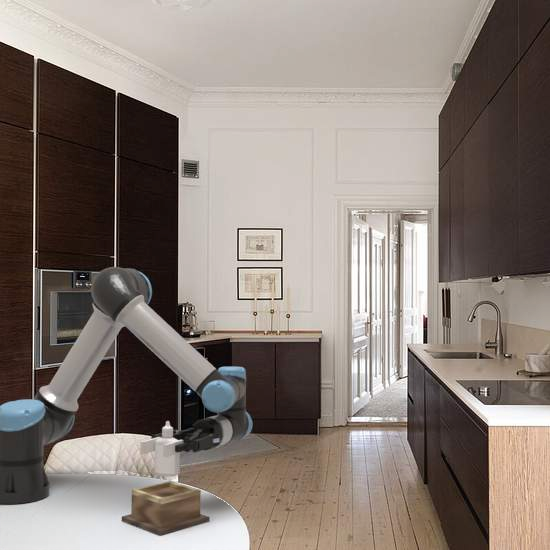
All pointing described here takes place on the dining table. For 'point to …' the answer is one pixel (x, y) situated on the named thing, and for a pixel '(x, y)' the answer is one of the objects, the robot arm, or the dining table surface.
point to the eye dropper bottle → (168, 464)
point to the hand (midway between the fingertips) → (153, 449)
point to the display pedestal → (165, 508)
